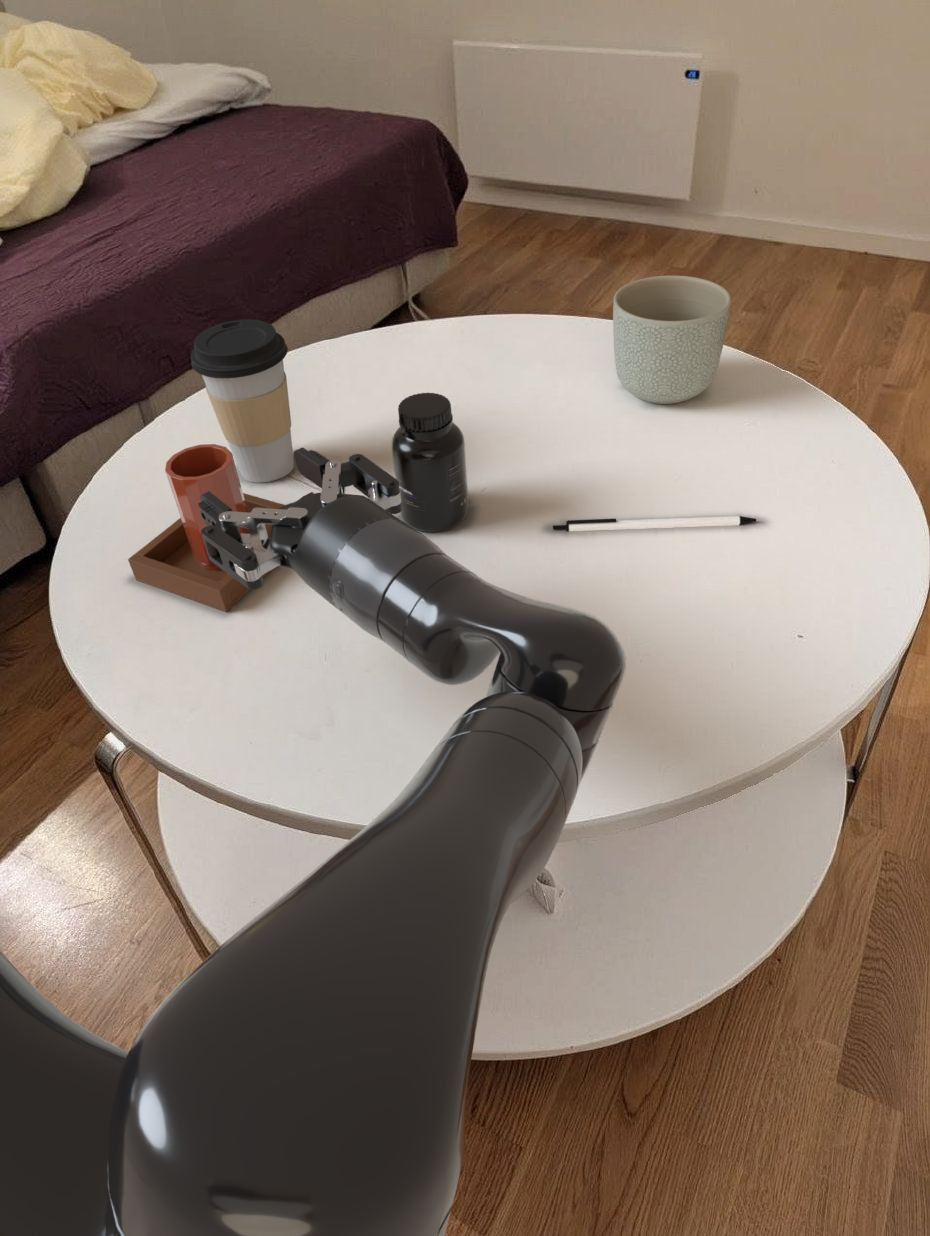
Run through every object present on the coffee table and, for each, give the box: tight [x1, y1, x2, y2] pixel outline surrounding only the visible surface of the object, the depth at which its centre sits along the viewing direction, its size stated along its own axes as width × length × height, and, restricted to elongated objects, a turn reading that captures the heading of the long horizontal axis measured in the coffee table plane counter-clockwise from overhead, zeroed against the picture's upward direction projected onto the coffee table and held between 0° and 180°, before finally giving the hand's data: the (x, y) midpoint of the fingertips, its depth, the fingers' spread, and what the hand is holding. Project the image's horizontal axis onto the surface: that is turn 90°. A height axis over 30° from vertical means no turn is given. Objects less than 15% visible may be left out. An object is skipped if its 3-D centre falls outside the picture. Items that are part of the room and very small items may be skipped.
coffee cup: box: [190, 319, 295, 484], centre depth 94 cm, size 9×9×15 cm
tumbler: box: [164, 443, 250, 570], centre depth 84 cm, size 6×6×10 cm
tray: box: [127, 492, 285, 613], centre depth 87 cm, size 13×11×2 cm
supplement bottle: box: [391, 392, 469, 533], centre depth 87 cm, size 7×7×12 cm
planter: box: [612, 275, 732, 405], centre depth 102 cm, size 12×12×11 cm
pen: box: [552, 515, 759, 532], centre depth 86 cm, size 1×19×1 cm, turn 88°
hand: (254, 480), depth 72 cm, fingers open, 8 cm apart
